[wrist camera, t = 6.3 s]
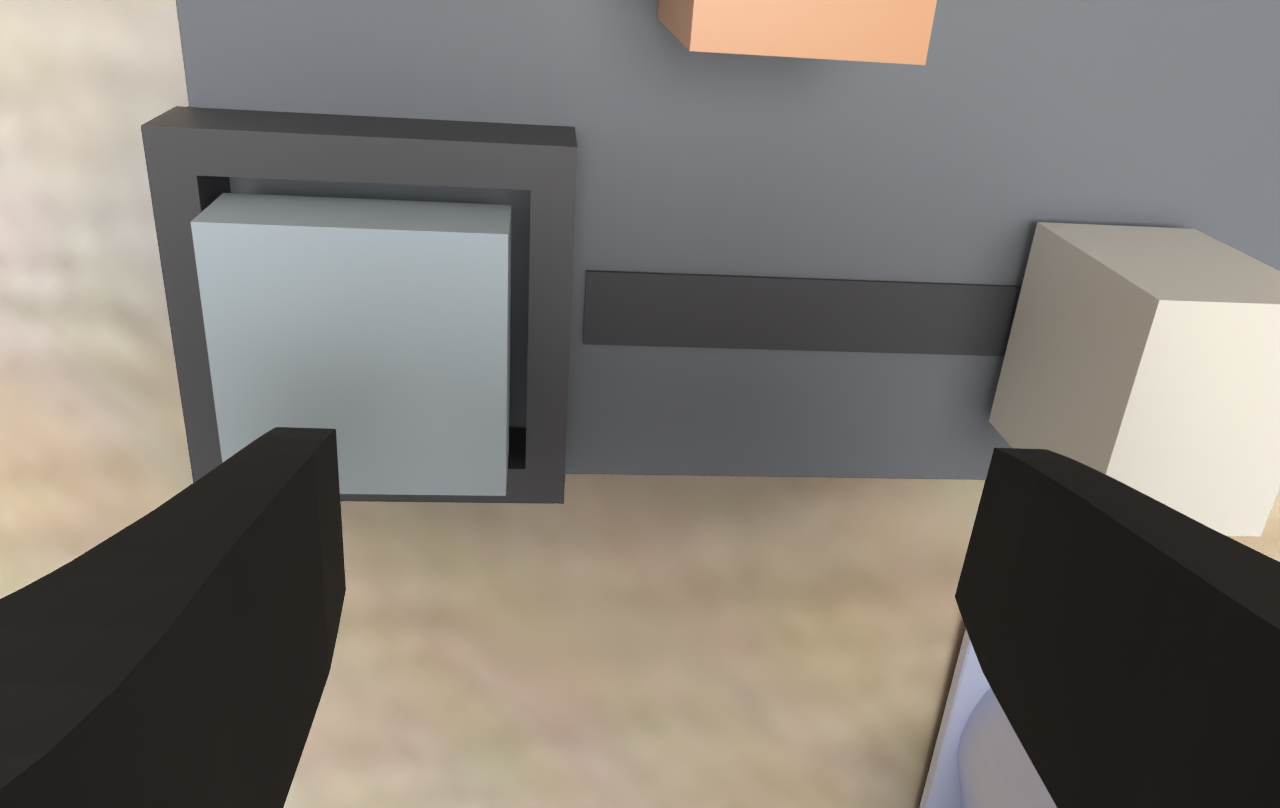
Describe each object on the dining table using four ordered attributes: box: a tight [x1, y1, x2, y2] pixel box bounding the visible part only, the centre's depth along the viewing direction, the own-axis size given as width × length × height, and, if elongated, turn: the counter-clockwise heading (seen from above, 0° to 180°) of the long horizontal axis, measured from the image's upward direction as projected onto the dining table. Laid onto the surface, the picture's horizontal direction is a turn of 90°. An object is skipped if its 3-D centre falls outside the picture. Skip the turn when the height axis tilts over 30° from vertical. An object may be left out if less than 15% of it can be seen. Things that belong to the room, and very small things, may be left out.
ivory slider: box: [989, 222, 1280, 536], centre depth 17 cm, size 4×3×4 cm
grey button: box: [191, 193, 512, 496], centre depth 16 cm, size 4×4×2 cm
